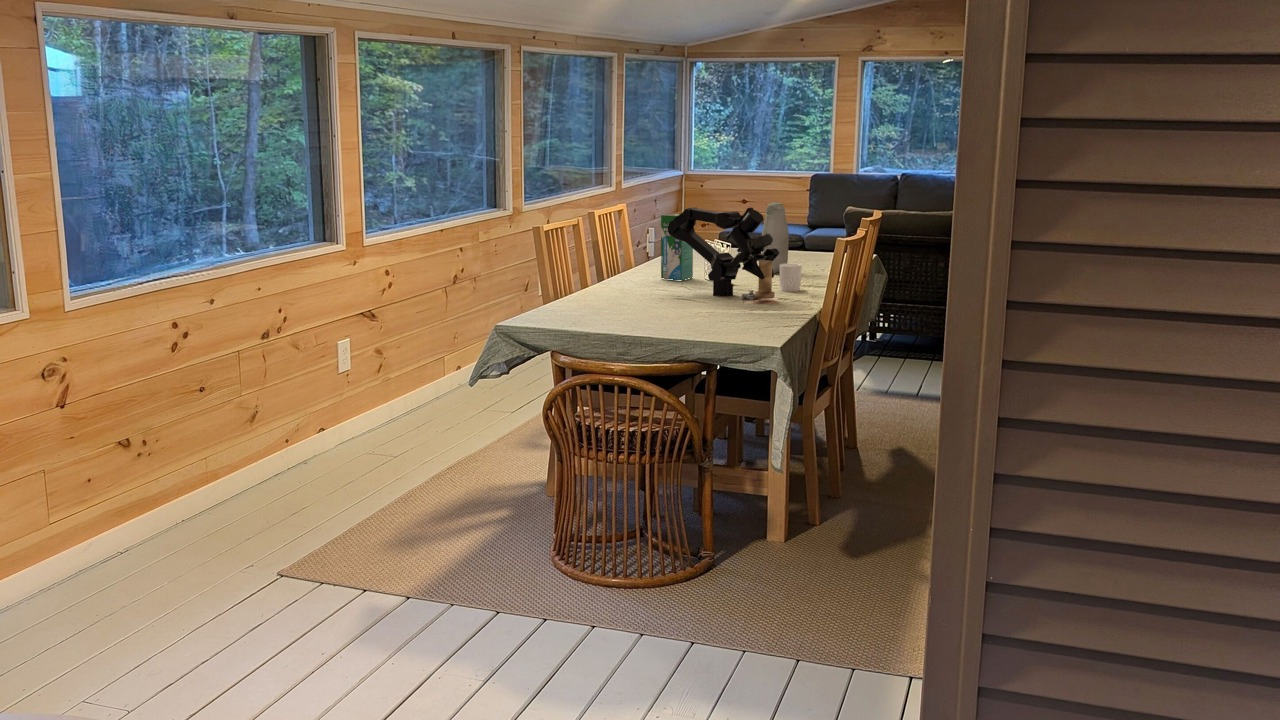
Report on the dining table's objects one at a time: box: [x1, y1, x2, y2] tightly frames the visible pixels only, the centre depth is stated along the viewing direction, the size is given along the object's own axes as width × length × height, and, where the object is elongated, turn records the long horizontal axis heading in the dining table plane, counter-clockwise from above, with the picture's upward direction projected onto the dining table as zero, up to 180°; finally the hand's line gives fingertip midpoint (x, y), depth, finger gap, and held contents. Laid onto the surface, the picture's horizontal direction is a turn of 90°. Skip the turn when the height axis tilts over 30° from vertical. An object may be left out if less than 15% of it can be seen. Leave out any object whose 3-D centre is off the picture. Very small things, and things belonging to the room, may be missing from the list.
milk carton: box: [660, 213, 694, 281], centre depth 432 cm, size 9×9×25 cm
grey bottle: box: [761, 201, 790, 274], centre depth 446 cm, size 10×10×28 cm
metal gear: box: [741, 289, 761, 300], centre depth 383 cm, size 6×7×3 cm
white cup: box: [779, 262, 803, 293], centre depth 401 cm, size 8×8×10 cm
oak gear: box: [754, 260, 775, 299], centre depth 376 cm, size 6×6×12 cm
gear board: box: [741, 296, 780, 305], centre depth 381 cm, size 12×14×1 cm
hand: (768, 277), depth 375 cm, fingers closed on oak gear, 4 cm apart
